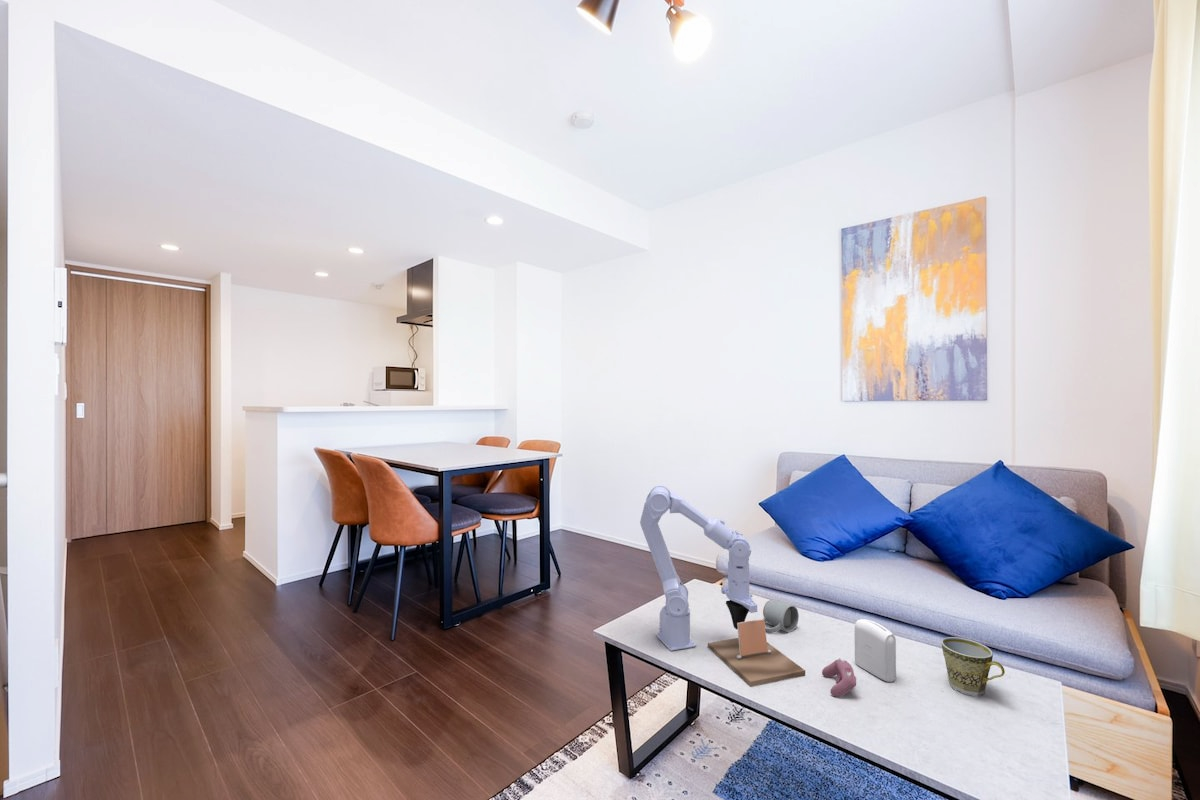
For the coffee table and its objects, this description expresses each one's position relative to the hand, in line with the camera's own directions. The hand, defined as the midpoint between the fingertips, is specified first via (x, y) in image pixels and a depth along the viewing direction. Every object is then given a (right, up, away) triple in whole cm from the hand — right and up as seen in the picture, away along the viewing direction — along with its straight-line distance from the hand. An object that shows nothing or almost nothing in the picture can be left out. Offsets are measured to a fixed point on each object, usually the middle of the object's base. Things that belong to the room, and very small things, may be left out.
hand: (738, 628), depth 140 cm
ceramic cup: (+50, -6, -21) cm, 54 cm away
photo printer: (+31, -6, -12) cm, 34 cm away
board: (+2, -6, -7) cm, 9 cm away
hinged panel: (+2, 0, -6) cm, 6 cm away
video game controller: (+19, -6, -19) cm, 27 cm away
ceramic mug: (+15, -6, +12) cm, 20 cm away
